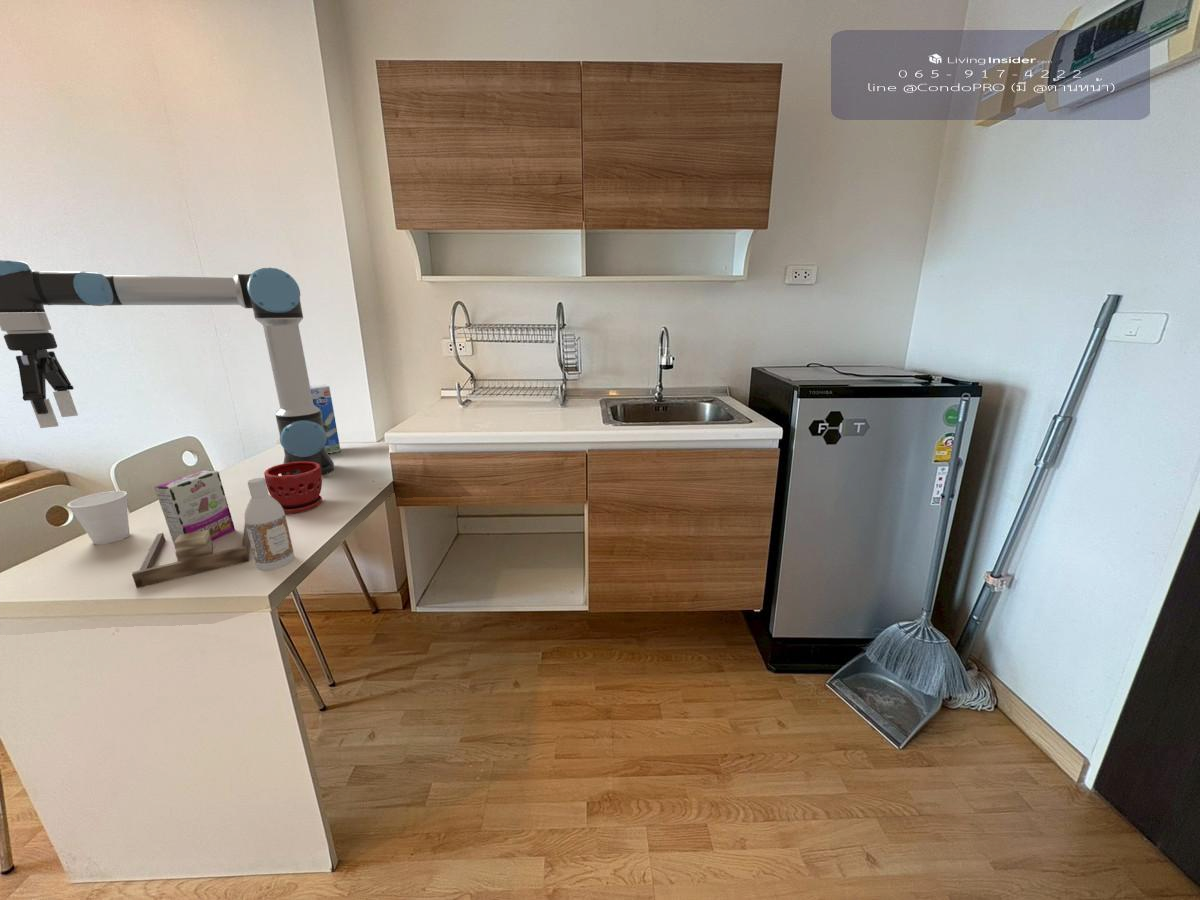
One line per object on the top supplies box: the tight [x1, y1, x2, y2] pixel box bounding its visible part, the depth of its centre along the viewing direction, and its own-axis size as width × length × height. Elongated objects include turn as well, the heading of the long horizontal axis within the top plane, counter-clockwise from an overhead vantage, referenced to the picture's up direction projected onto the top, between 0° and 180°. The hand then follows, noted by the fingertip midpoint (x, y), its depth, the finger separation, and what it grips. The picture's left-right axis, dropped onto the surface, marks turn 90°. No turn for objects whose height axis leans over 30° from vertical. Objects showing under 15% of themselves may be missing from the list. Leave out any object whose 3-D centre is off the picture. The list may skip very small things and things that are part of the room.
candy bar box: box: [154, 469, 236, 550], centre depth 109 cm, size 11×5×16 cm, turn 168°
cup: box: [66, 490, 131, 545], centre depth 111 cm, size 10×10×11 cm
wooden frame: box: [131, 523, 251, 589], centre depth 106 cm, size 18×24×4 cm
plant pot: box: [263, 462, 323, 515], centre depth 129 cm, size 13×13×12 cm
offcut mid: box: [175, 539, 214, 561], centre depth 100 cm, size 6×5×2 cm
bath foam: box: [244, 477, 296, 572], centre depth 98 cm, size 7×7×20 cm
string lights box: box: [310, 384, 342, 454], centre depth 176 cm, size 13×8×26 cm, turn 130°
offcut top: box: [173, 530, 211, 552], centre depth 99 cm, size 5×4×2 cm
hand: (60, 421), depth 114 cm, fingers open, 13 cm apart
